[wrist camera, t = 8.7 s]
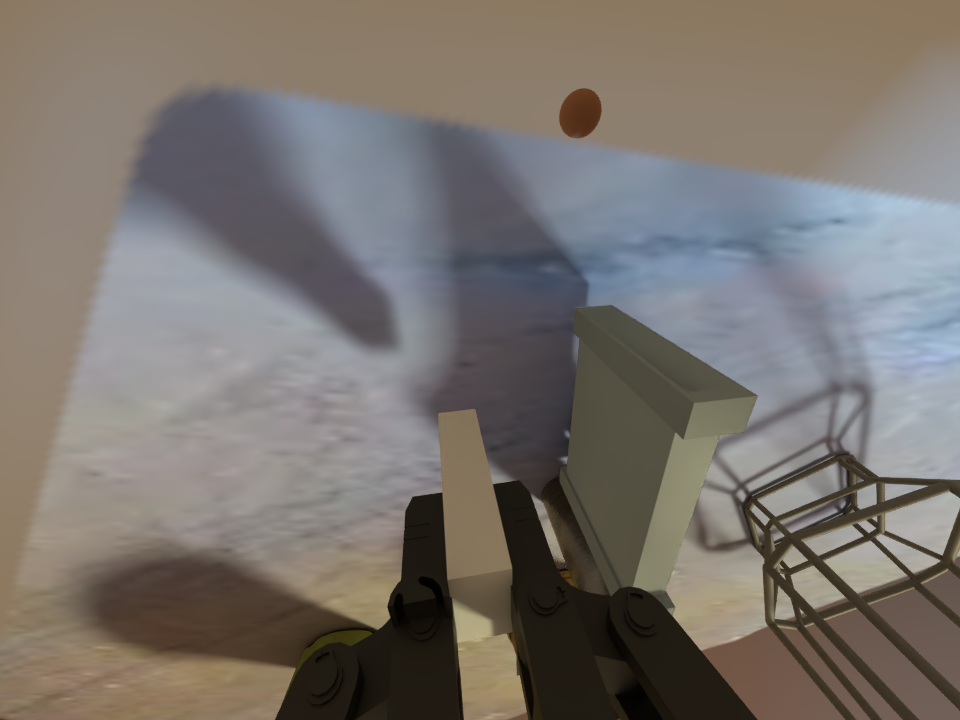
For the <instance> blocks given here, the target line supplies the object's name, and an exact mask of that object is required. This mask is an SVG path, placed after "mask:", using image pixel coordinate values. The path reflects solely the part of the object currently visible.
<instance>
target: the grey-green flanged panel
mask: <svg viewBox="0 0 960 720" xmlns="http://www.w3.org/2000/svg"><path fill="white" fill-rule="evenodd" d="M573 333H574V334H575V335H576V336H577V337H578V338H579V339H580V340H579V350H578V360H577V370H576V380H575V390H574V399H573V409H572V419H571V429H570V439H569V449H568V459H567V466H561V468H560V479H559V481H560V484H561V486H562V488H563V490H564V493H565V495H566V497H567V499H568V501H569V504H570V506H571V508H572V510H573V513H574V515H575V517H576V519H577V522H578V524H579V526H580V528H581V530H582V533H583V535H584V537H585V539H586V542H587V544H588V546H589V548H590V550H591V553H592V555H593V557H594V559H595V562H596V564H597V566H598V568H599V570H600V573H601V575H602V577H603V579H604V582H605V584H606V586H607V588H608V590H609V593H610V595H611V596H612V595H613V594H614V593H615V592H616V591H617V590H618V589H619V588H624V587H628V586H631V587H636V588H641V589H643V590H645V591H647V592H648V593H650V594H652V595H653V596H654V597H655V598H656V599H658V600H659V601H660V602H661V603H662V604H663V605H664V607H665V608H666V609H667V610H668V611H669V613H670V614H671V615H673V613H674V610H675V606H674V604H673V603H672V601H671V599H670V598H669V596H668V594H667V592H666V588H667V585H668V582H669V579H670V576H671V573H672V571H673V568H674V565H675V562H676V559H677V556H678V554H679V551H680V548H681V545H682V542H683V539H684V537H685V534H686V531H687V528H688V525H689V522H690V520H691V517H692V514H693V511H694V508H695V505H696V502H697V500H698V497H699V494H700V491H701V488H702V485H703V483H704V480H705V477H706V474H707V471H708V468H709V466H710V463H711V460H712V457H713V454H714V451H715V449H716V446H717V443H718V440H719V437H720V435H727V434H735V433H743V432H744V430H745V428H746V425H747V423H748V420H749V417H750V415H751V412H752V410H753V407H754V405H755V402H756V399H757V397H758V396H757V395H756V394H754V393H753V392H751V391H749V390H748V389H746V388H745V387H743V386H741V385H740V384H738V383H737V382H735V381H733V380H732V379H730V378H728V377H727V376H725V375H724V374H722V373H720V372H719V371H717V370H716V369H714V368H712V367H711V366H709V365H707V364H706V363H704V362H703V361H701V360H699V359H698V358H696V357H695V356H693V355H691V354H690V353H688V352H687V351H685V350H683V349H682V348H680V347H678V346H677V345H675V344H674V343H672V342H670V341H669V340H667V339H666V338H664V337H662V336H661V335H659V334H657V333H656V332H654V331H653V330H651V329H649V328H648V327H646V326H645V325H643V324H641V323H640V322H638V321H636V320H635V319H633V318H632V317H630V316H628V315H627V314H625V313H624V312H622V311H620V310H619V309H617V308H616V307H614V306H612V305H608V306H595V307H583V308H575V314H574V325H573Z"/></svg>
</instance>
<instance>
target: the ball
mask: <svg viewBox="0 0 960 720" xmlns="http://www.w3.org/2000/svg"><path fill="white" fill-rule="evenodd" d="M601 109H602V107H601V101H600V99H599V97H598V95H597V94H596V93H595V92H594V91H592V90H590V89H587V88H581V89H577V90H575V91H573V92H572V93H570V94H569V95H568V96H567V97H566V99H565V100H564V102H563V104H562V106H561V109H560V113H559V122H560V126H561V128H562V130H563V132H564V133H565V134H566V135H567V136H569V137H571V138H583V137H585V136H587V135H589V134H590V133H591V132H592V131H593V130H594V129H595V127H596V126H597V125H598V122H599V120H600V117H601V112H602V110H601Z"/></svg>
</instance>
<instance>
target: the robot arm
mask: <svg viewBox="0 0 960 720" xmlns="http://www.w3.org/2000/svg"><path fill="white" fill-rule="evenodd" d="M438 423H439V441H440V458H441V475H442V493H436V494H429V495H422V496H415V497H413V498H412V499H411V501H410V503H409V505H408V507H407V509H406V512H405V530H404V543H403V559H402V575H401V581H400V582H399V583H398V584H397V586H396V587H395V589H394V590H393V592H392V593H391V595H390V599H389V603H388V611H389V614H390V617H391V618H390V619H389V620H388V621H387V622H386V624H385V625H384V626H383V627H382V628H380V629H379V630H377V631H376V632H375V633H373V634H371V635H370V636H368V637H366V638H364V639H363V640H361V641H359V642H357V643H356V644H354V645H352V646H349V645H346V644H344V643H341V642H337V643H330V644H327V645H325V646H323V647H321V648H319V649H318V650H316V651H314V652H313V653H312V654H311V655H310V656H309V657H308V658H307V659H306V660H305V661H304V662H303V664H302V666H301V667H300V669H299V671H298V672H297V674H296V675H295V677H294V679H293V681H292V684H291V686H290V688H289V690H288V692H287V695H286V697H285V699H284V701H283V703H282V706H281V708H280V710H279V712H278V714H277V717H276V719H275V720H464V716H463V703H462V690H461V676H460V668H459V659H458V645H457V643H460V642H465V641H470V640H475V639H480V638H485V637H490V636H496V635H501V634H506V633H511V632H514V637H515V642H516V646H517V675H520V678H521V683H522V689H523V694H524V699H525V704H526V709H527V714H528V719H529V720H617V718H616V715H615V712H614V709H613V707H614V708H615V710H616V712H617V714H618V716H619V717H620V719H621V720H757V719H756V718H755V716H754V715H753V714H752V713H751V711H750V710H749V709H748V708H747V706H746V705H745V704H744V703H743V701H742V700H741V699H740V698H739V697H738V695H737V694H736V693H735V692H734V691H733V689H732V688H731V687H730V686H729V684H728V683H727V682H726V681H725V680H724V678H723V677H722V676H721V675H720V673H718V671H717V670H716V669H715V668H714V666H713V665H712V664H711V663H710V661H709V660H708V659H707V658H706V656H705V655H704V654H703V653H702V652H701V650H700V649H699V648H698V647H697V645H696V644H695V643H694V642H693V641H692V639H691V638H690V637H689V636H688V635H687V633H686V632H685V631H684V630H683V628H682V627H681V626H680V625H679V624H678V622H677V621H676V620H675V619H674V617H673V616H672V615H671V614H670V613H669V611H668V610H667V609H666V608H665V607H664V605H663V604H662V603H661V602H660V601H659V600H658V599H656V598H655V597H654V596H653V595H652V594H650V593H648V592H647V591H645V590H643V589H641V588H636V587H631V586H628V587H624V588H619V589H618V590H617V591H616V592H615V593H614V594H613V595H612V596H607V595H601V594H596V593H590V592H586V591H583V590H579V589H578V588H576V587H574V586H572V585H571V584H570V583H568V582H567V581H566V580H565V579H564V578H563V577H562V575H561V574H560V573H559V571H558V569H557V567H556V565H555V563H554V560H553V557H552V554H551V551H550V548H549V546H548V543H547V540H546V537H545V534H544V531H543V528H542V526H541V523H540V520H539V517H538V514H537V511H536V509H535V506H534V503H533V500H532V497H531V494H530V492H529V490H528V489H527V488H526V487H525V486H524V485H523V484H522V483H521V482H520V481H519V480H518V481H512V482H505V483H498V484H493V483H492V479H491V475H490V471H489V466H488V462H487V458H486V453H485V449H484V445H483V440H482V436H481V432H480V427H479V423H478V419H477V415H476V410H475V409H469V410H460V411H452V412H444V413H438ZM611 703H612V704H611ZM612 705H613V707H612Z"/></svg>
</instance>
